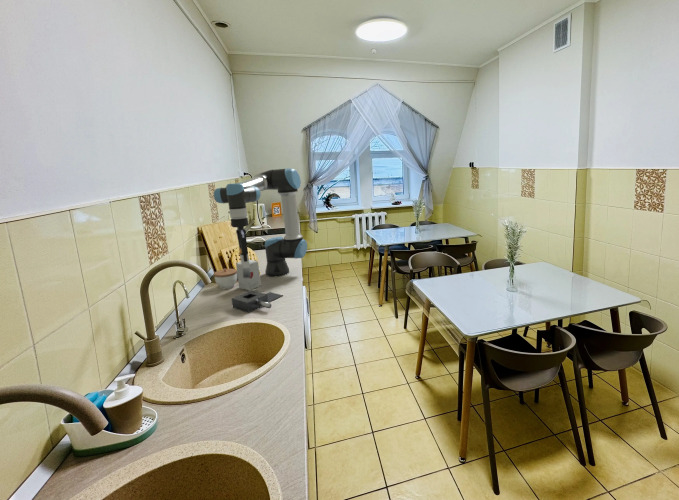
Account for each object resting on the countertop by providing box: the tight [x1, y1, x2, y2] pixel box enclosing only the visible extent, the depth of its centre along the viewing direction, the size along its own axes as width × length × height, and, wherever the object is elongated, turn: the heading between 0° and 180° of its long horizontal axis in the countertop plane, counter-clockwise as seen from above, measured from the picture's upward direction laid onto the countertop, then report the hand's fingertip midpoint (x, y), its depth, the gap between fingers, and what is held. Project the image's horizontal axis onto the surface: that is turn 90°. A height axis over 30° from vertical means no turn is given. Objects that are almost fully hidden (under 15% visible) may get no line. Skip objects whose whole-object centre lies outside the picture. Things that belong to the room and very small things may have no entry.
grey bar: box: [238, 248, 251, 278], centre depth 153 cm, size 4×4×14 cm
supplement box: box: [235, 259, 262, 291], centre depth 184 cm, size 9×9×15 cm
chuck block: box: [231, 289, 272, 313], centre depth 155 cm, size 12×20×5 cm, turn 53°
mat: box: [266, 291, 284, 303], centre depth 168 cm, size 10×10×1 cm
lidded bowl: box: [213, 267, 238, 290], centre depth 187 cm, size 13×13×11 cm
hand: (245, 266), depth 154 cm, fingers closed on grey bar, 4 cm apart
